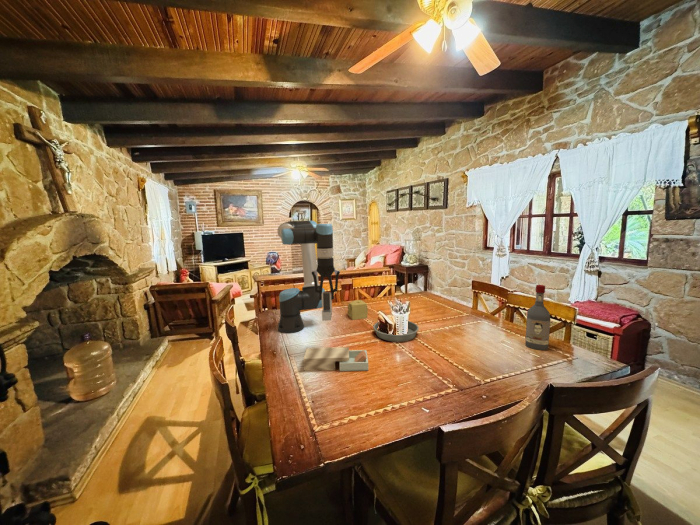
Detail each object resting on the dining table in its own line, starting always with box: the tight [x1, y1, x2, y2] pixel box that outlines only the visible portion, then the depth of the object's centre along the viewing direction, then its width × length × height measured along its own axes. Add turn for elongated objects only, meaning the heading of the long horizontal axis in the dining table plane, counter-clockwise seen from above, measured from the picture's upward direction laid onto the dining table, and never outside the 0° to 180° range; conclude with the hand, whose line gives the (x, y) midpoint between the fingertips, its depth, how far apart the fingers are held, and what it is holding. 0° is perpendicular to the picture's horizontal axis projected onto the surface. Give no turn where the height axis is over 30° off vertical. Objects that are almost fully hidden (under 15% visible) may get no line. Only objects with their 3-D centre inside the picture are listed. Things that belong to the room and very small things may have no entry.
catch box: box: [339, 349, 369, 372], centre depth 127 cm, size 12×12×4 cm
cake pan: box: [372, 320, 420, 343], centre depth 160 cm, size 25×25×4 cm
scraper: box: [321, 291, 333, 322], centre depth 137 cm, size 4×10×12 cm, turn 1°
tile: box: [355, 349, 367, 362], centre depth 126 cm, size 5×5×2 cm
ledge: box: [303, 346, 350, 372], centre depth 126 cm, size 19×10×6 cm, turn 91°
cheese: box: [346, 299, 369, 321], centre depth 189 cm, size 10×11×10 cm
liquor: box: [524, 284, 551, 351], centre depth 138 cm, size 9×9×30 cm
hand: (326, 306), depth 138 cm, fingers closed on scraper, 3 cm apart
